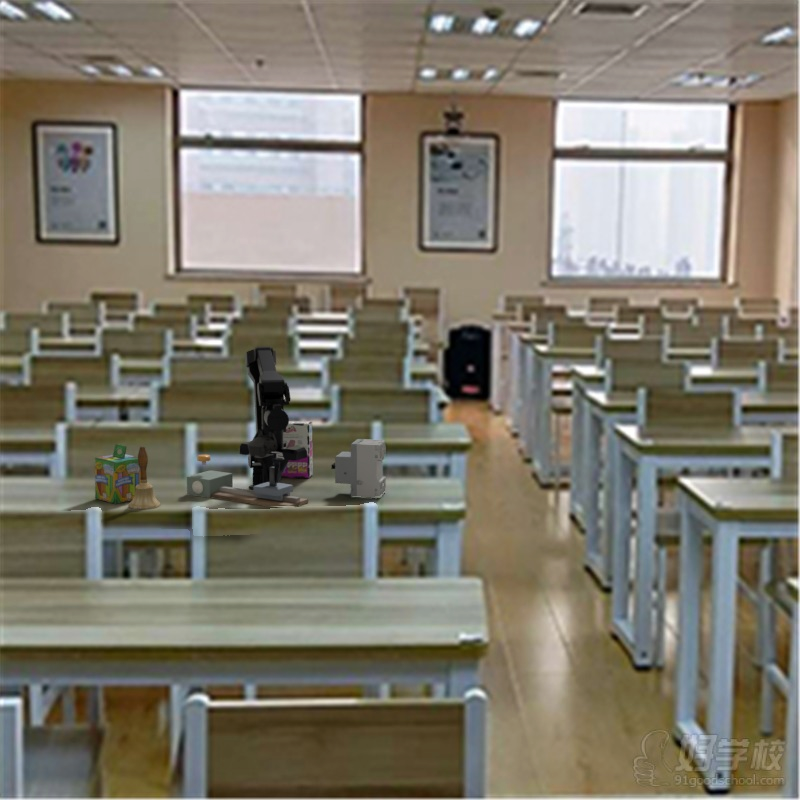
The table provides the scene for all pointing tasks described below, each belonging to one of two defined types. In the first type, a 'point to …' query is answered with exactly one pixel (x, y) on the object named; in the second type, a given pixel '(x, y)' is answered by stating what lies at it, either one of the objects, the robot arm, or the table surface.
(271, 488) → the grey peg on base
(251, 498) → the rail track
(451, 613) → the table surface
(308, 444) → the candy bar box
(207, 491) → the grey green box
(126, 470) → the chalk box
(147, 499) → the hand bell
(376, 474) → the circuit breaker
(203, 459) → the tan round piece
